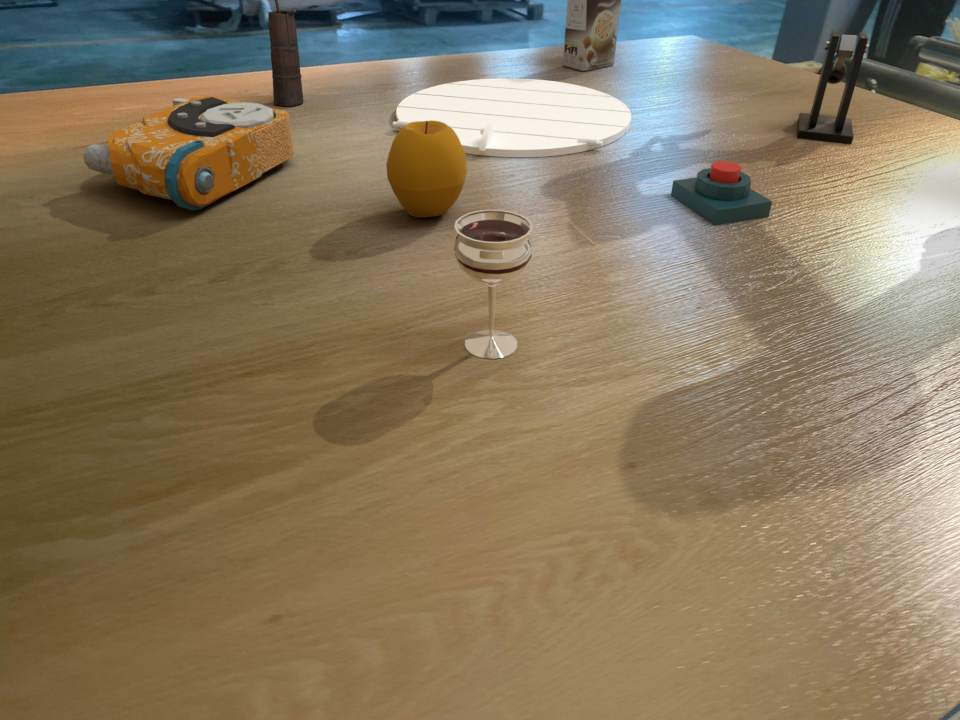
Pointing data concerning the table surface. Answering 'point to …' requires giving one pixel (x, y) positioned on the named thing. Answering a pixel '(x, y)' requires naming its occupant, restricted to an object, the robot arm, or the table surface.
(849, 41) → the lever
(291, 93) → the butter churn
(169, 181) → the device
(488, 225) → the wineglass
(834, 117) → the bracket
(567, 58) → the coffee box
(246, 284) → the table surface
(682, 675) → the table surface
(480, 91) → the lazy susan
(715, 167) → the button
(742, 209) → the panel
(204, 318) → the table surface
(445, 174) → the apple
